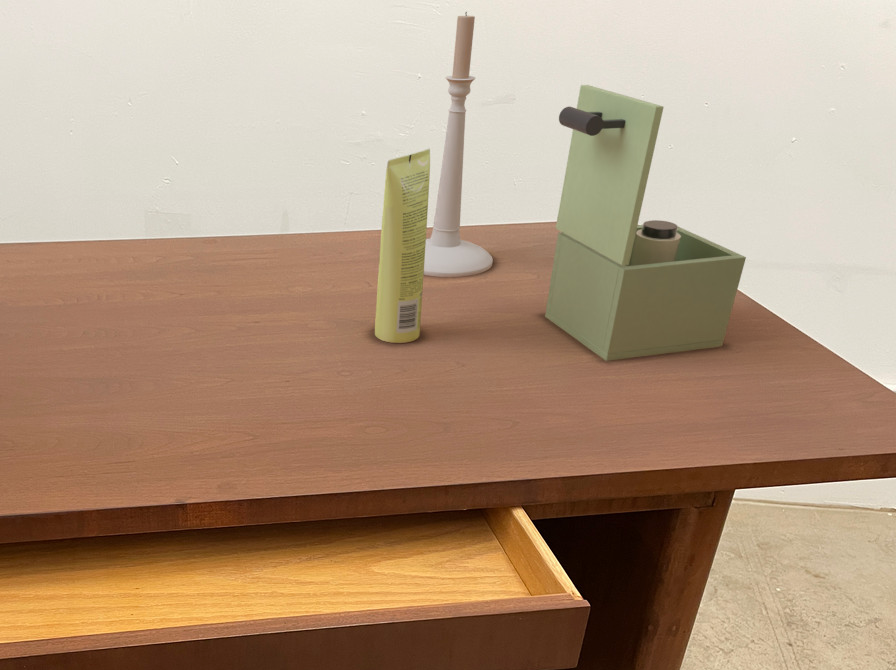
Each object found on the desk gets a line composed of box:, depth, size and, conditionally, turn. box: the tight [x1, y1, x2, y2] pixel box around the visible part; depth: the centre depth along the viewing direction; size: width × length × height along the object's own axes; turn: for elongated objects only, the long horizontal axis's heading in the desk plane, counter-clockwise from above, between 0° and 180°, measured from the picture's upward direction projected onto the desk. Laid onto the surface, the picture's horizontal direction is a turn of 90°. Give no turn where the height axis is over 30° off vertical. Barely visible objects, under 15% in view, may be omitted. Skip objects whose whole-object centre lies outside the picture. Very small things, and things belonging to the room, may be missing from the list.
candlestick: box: [424, 11, 494, 278], centre depth 116 cm, size 13×13×30 cm
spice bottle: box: [629, 219, 681, 266], centre depth 99 cm, size 4×4×11 cm
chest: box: [544, 224, 747, 362], centre depth 100 cm, size 14×13×10 cm
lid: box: [555, 84, 665, 265], centre depth 91 cm, size 15×13×5 cm
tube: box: [374, 147, 431, 344], centre depth 97 cm, size 6×5×20 cm
